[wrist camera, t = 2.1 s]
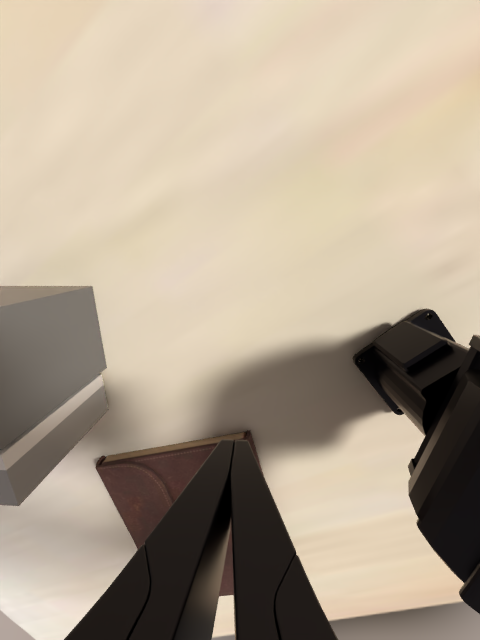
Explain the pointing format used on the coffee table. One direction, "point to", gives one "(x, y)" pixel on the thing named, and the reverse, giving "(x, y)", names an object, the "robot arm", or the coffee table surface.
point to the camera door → (49, 442)
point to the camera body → (44, 351)
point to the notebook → (160, 486)
